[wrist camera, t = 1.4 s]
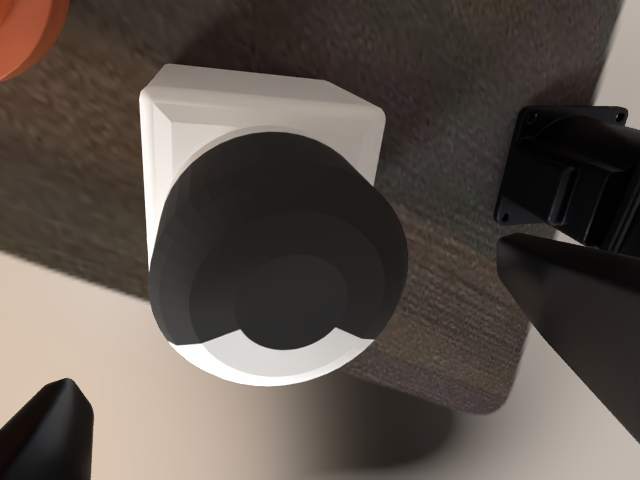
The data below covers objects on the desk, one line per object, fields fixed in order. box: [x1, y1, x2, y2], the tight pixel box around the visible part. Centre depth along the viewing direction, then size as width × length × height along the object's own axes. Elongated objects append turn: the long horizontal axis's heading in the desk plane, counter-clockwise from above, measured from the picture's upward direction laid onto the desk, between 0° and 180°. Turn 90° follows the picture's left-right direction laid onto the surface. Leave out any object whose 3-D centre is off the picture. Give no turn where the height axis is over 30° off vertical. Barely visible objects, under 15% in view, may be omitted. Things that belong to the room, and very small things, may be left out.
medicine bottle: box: [139, 64, 408, 386], centre depth 14 cm, size 7×7×12 cm
